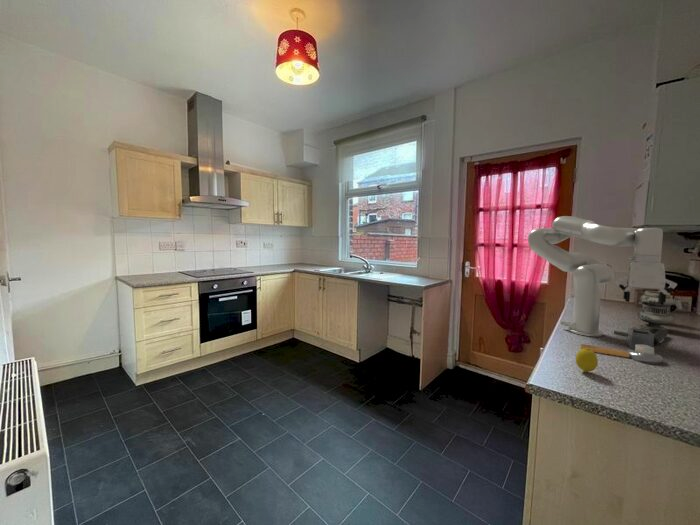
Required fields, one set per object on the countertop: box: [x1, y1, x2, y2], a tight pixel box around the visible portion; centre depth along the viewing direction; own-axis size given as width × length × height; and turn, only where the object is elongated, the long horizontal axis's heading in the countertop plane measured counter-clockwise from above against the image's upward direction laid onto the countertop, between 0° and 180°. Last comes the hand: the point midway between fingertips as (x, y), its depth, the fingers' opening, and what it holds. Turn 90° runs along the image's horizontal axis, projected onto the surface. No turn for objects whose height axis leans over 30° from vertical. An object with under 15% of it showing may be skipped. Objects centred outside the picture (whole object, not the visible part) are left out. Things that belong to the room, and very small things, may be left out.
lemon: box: [575, 348, 599, 373], centre depth 95 cm, size 6×6×8 cm
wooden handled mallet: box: [579, 343, 663, 365], centre depth 110 cm, size 22×9×5 cm, turn 57°
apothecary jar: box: [637, 290, 676, 333], centre depth 142 cm, size 12×12×18 cm
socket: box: [626, 326, 654, 349], centre depth 117 cm, size 6×6×8 cm
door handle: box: [613, 326, 668, 346], centre depth 130 cm, size 3×20×16 cm
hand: (643, 302), depth 116 cm, fingers open, 9 cm apart
